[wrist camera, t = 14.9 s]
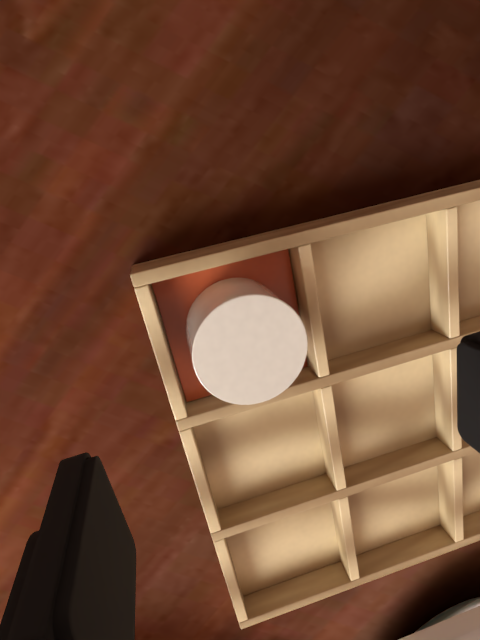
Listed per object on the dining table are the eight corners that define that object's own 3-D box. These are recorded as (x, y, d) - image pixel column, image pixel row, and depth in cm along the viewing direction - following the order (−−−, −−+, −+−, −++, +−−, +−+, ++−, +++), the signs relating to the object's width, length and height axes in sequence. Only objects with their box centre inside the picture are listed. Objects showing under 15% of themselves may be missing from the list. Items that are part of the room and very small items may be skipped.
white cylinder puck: (173, 292, 18) (178, 312, 15) (275, 265, 19) (298, 280, 16) (199, 384, 20) (207, 419, 17) (291, 357, 20) (315, 386, 17)
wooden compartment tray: (131, 264, 18) (129, 274, 16) (551, 161, 21) (592, 159, 19) (233, 596, 26) (240, 630, 24) (531, 488, 28) (560, 510, 26)
